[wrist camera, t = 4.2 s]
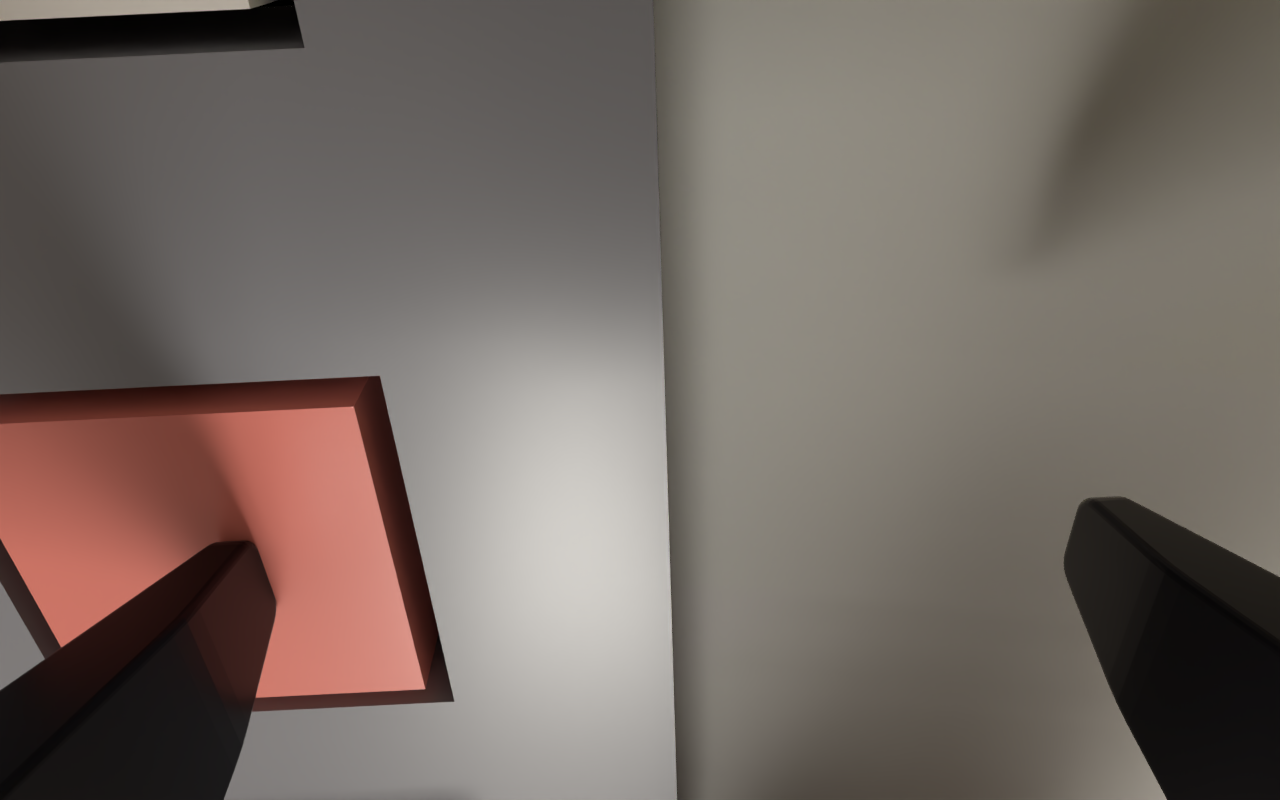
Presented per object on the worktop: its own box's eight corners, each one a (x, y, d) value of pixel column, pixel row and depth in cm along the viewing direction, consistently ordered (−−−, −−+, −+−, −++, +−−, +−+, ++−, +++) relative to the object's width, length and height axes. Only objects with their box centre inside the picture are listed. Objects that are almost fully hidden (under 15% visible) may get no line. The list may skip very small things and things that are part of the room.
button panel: (673, 862, 18) (684, 1052, 15) (214, 886, 18) (136, 1080, 15) (603, -1066, 6) (592, -2033, 3) (-802, -1004, 6) (-2237, -1916, 3)
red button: (463, 528, 13) (425, 689, 10) (198, 541, 13) (93, 705, 10) (416, 284, 11) (354, 406, 8) (101, 298, 11) (-63, 427, 8)
